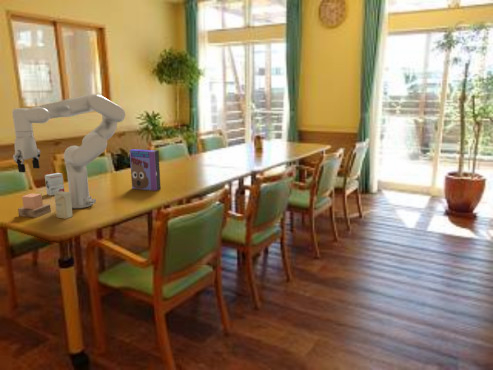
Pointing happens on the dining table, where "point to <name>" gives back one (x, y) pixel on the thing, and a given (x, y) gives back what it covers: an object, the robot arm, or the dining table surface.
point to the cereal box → (145, 169)
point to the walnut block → (34, 211)
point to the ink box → (54, 183)
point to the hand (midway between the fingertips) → (29, 170)
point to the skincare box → (63, 204)
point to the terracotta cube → (32, 201)
